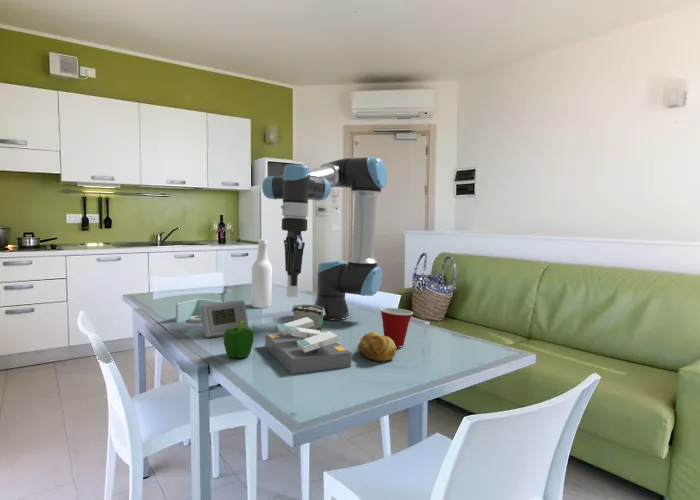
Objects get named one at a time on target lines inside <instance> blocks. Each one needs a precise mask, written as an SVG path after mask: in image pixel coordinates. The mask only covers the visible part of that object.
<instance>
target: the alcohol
mask: <svg viewBox="0 0 700 500" xmlns="http://www.w3.org/2000/svg"><path fill="white" fill-rule="evenodd" d="M257 245H258V246H257V254H256V255H257V256H256V260H254V262H253V264H252V266H251V291H250V292H251V294H250V295H251V297H250V305H251V307H252V308H254V309H268V308H271V305H272V292H273V291H272V284H273V266H272V264H271V262H270V261H269V259H268V258H269V257H268V240H267V239H258V240H257Z"/></svg>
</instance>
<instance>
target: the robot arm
mask: <svg viewBox="0 0 700 500" xmlns="http://www.w3.org/2000/svg"><path fill="white" fill-rule="evenodd" d="M283 167H284V168H283V175H272V176H266V177H265V178H264V179H263V181H262V186H261V187H262V194H263V195H264V196H265V197H266V199H269V200H270V199H271V200H274V201H275V200H282V205H280V209H281V210H282V212H281V213H282V214H281V215H282V216H284V217H282V219H281V230H282V231H286V232H287V234H286V237H285V239H284V240H283V244H284V245H283V246H284V265H285V266H284V268H285V272H286V274H287V284H286V285H287V287H286V291H287V292H286V293H287V294H286V296H287V298H292V297H293V298H294V297H295V298H296V297H298V287H299V286H298V281H299V274H302V273H301V272H302V265H303V256H304V249H305V246H306V245H305V244H306V243H305V242H304V241H303V237H302V232H307V231H308V220H307V217H309V200H310V201H315V202H316V201H318V202H319V201H325V200H326V199H328V197H329V196H330V194H331V188H349V189H350V188H351V189H350V191H351V193H352V194H353V196H354V206H353V207H354V212H353V233H352V234H353V235H352V255H351V257H350V259H349V260H348V262H347V260H331V261H322V262H319V264H318V268H317V282H316V283H317V285H316V287H317V288H316V290H317V291H316V292H317V293H316V299H315V302H314V305H317V306H321V307H323V308H324V310H325V316H323V319H342V318H346V317H348V316H350V315H349V314H350V312H349V307H348V303H347V301H346V294H350V295H359V296H362V297H364V296H368V297H371V296H372V297H373V296H374V295H376V294H377V293H378V291H379V290H380V287H381V286H382V280H383V269H382V268H381V267H379V266H378V261H377V260H376V258H375V241H376V220H377V200H378V199H377V198H378V196H379V195H380V194H381V192H382V189H383V188H385V187H386V185H387V183H388V172H387V169H386V166H385V163H384V162H383V160H382V159H380V158H379V157H370V156H368V157H351V158H350V157H349V158H348V157H345V158H341V159H337V160H333V161H329V162H327V163H323V164H321V165H320V166H319V167H316V168H311V169H310V167H308V166H307V165H305V164H295V163H293V164H290V163H289V164H286V165H285V166H283ZM348 318H349V317H348ZM346 319H347V318H346ZM342 320H343V319H342Z"/></svg>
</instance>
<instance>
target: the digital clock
mask: <svg viewBox="0 0 700 500" xmlns="http://www.w3.org/2000/svg"><path fill="white" fill-rule="evenodd" d="M201 314H202V327H203V332H204V333H203V334H204V337H205V338H219V337H220V338H221V337H224V333H225V331H226V329H233V328H235V327H238V325H239V323H240V322H241V321H245V323H244V324H242V327H241V328H245V327H249V322H248V321H249V320H248V315H247V308H246V303H245V301H244V300H235V301H233V300H231V301H221V303H212V304H206V305H202V306H201Z"/></svg>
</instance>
